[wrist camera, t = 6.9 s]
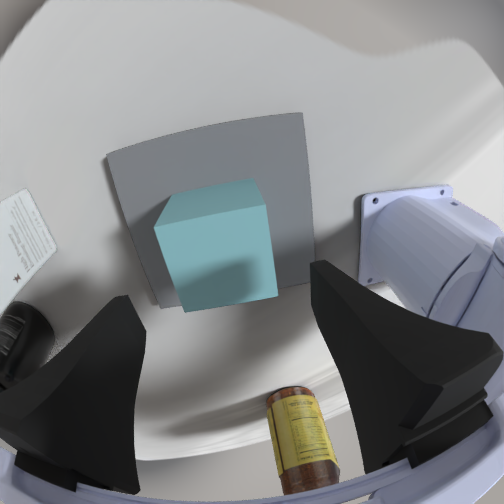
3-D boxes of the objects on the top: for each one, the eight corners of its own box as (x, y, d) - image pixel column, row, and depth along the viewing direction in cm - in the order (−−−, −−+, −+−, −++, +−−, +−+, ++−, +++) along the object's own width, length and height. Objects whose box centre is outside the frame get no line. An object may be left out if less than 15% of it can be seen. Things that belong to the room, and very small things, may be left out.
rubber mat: (298, 112, 15) (302, 112, 14) (312, 273, 21) (315, 281, 20) (112, 152, 15) (106, 154, 14) (162, 300, 21) (160, 308, 20)
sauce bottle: (293, 410, 32) (323, 540, 15) (254, 404, 30) (276, 550, 13) (325, 386, 30) (370, 529, 12) (286, 377, 27) (324, 546, 10)
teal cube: (253, 177, 16) (265, 204, 12) (264, 250, 18) (278, 296, 14) (172, 194, 16) (153, 227, 11) (192, 263, 18) (184, 312, 14)
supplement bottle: (6, 319, 20) (-37, 395, 10) (15, 288, 19) (-43, 375, 8) (49, 354, 23) (17, 436, 13) (64, 329, 22) (22, 427, 11)
